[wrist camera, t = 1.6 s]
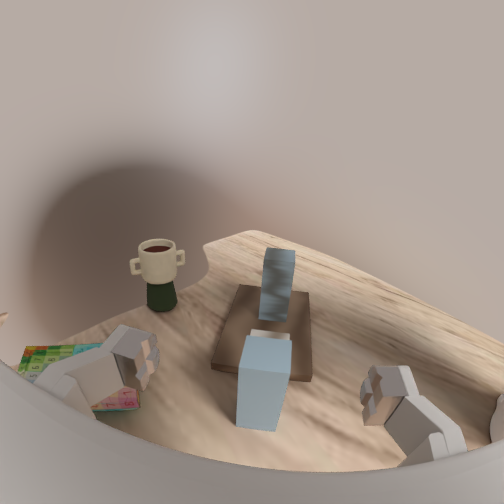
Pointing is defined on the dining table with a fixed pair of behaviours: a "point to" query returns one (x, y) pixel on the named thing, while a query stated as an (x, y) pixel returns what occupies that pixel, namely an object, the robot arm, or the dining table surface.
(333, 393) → the dining table surface
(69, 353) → the puzzle game
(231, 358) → the base board
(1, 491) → the robot arm
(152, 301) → the character mug
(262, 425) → the pillar block
